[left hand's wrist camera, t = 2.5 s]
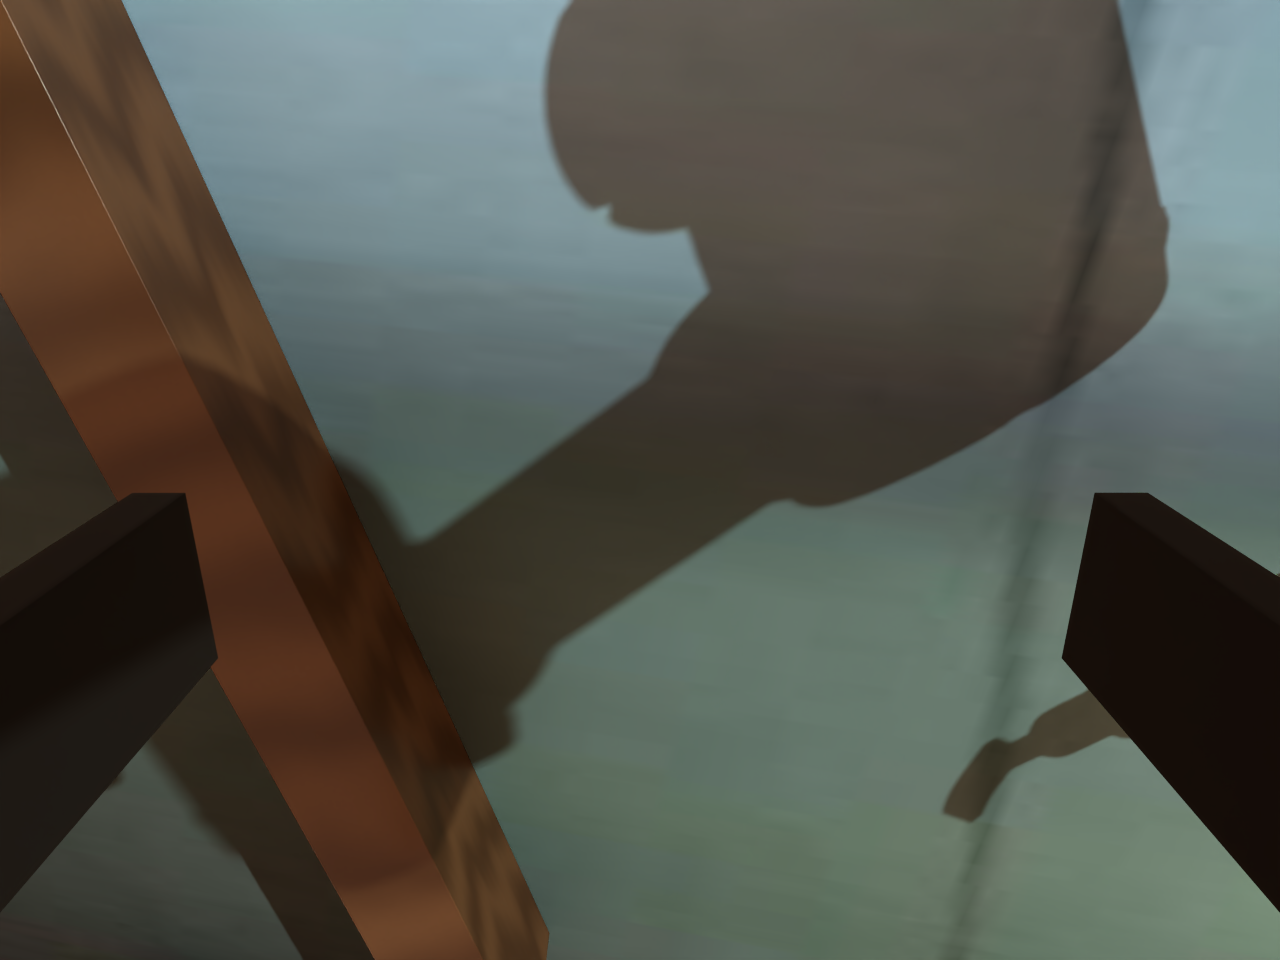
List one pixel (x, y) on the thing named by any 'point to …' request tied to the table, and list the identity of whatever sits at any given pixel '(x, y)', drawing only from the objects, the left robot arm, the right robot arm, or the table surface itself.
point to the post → (239, 484)
